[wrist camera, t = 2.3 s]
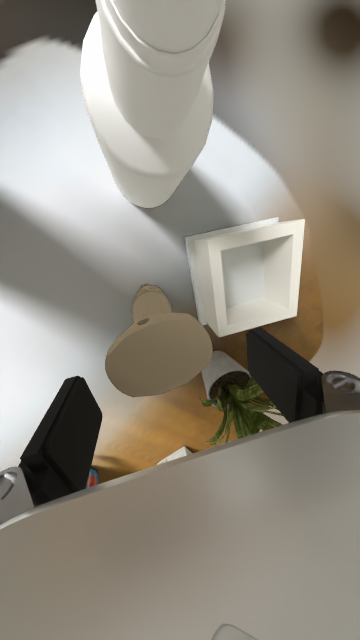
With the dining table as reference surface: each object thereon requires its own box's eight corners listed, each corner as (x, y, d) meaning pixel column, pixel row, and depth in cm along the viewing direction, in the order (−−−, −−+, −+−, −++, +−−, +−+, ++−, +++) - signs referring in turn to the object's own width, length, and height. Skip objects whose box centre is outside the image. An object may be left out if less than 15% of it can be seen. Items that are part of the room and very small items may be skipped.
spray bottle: (187, 156, 20) (416, -238, 3) (161, 220, 22) (229, 157, 5) (125, 109, 17) (-65, -1748, 1) (101, 186, 19) (-105, -120, 3)
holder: (184, 237, 23) (198, 235, 17) (273, 218, 24) (312, 211, 19) (198, 323, 28) (213, 343, 22) (271, 303, 29) (301, 318, 24)
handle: (117, 288, 23) (88, 351, 10) (164, 268, 24) (198, 303, 10) (135, 319, 25) (130, 408, 12) (177, 301, 26) (220, 367, 12)
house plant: (266, 373, 35) (361, 470, 20) (203, 410, 35) (249, 532, 20) (242, 313, 29) (351, 390, 14) (165, 359, 29) (192, 480, 14)
